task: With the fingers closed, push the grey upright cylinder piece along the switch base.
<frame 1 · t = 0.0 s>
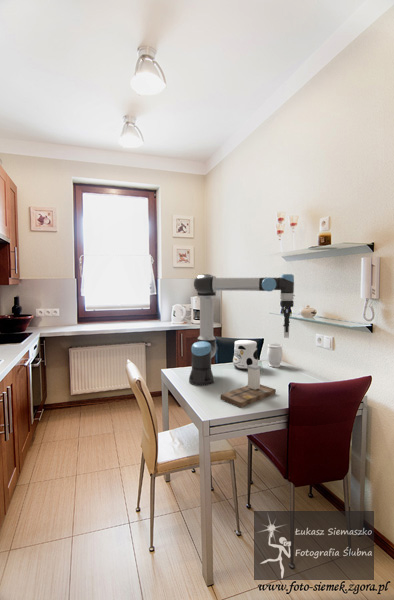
hand: (286, 335, 190), 28 cm above the table, tool pointing down, fingers open, 13 cm apart
jar: (274, 366, 226), on the table
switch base: (248, 396, 168), on the table
grey upright cylinder piece: (253, 376, 172), point 9 cm above the table, slide at 0.0 cm
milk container: (245, 367, 222), on the table
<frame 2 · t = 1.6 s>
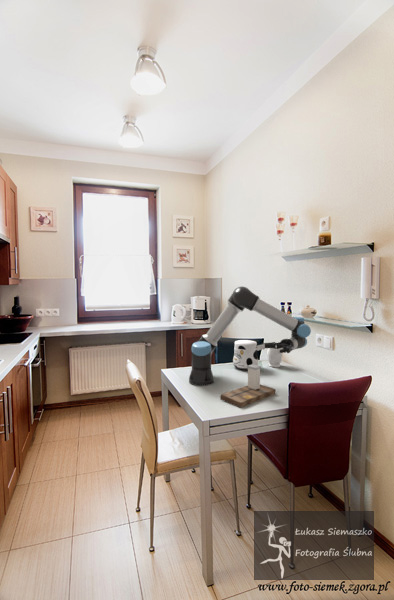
hand: (266, 350, 178), 22 cm above the table, tool horizontal, fingers open, 12 cm apart
nothing on the table moved.
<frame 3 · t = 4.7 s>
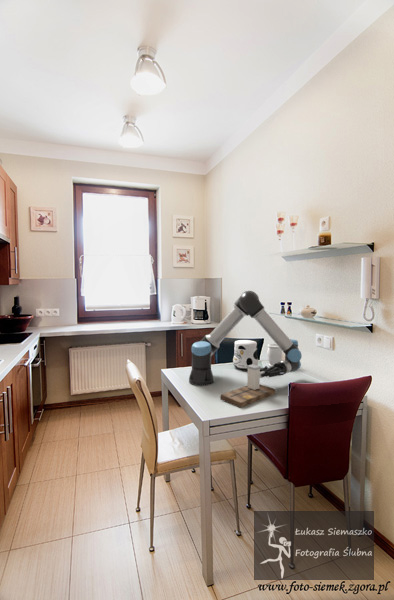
hand: (256, 376, 174), 9 cm above the table, tool horizontal, fingers closed
grey upright cylinder piece: (253, 376, 172), point 9 cm above the table, slide at 0.3 cm, touching gripper
everything else where it was.
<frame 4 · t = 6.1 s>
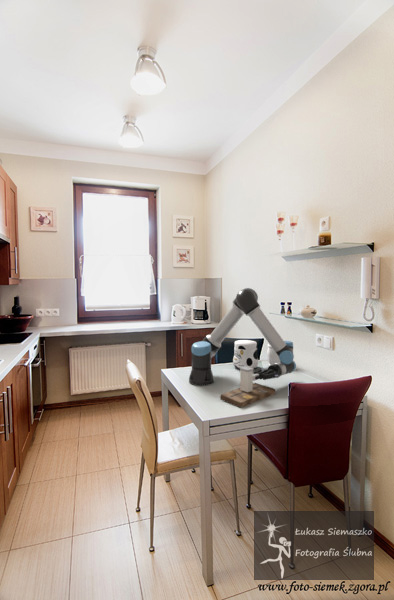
hand: (250, 378, 170), 9 cm above the table, tool horizontal, fingers closed
grey upright cylinder piece: (246, 379, 168), point 9 cm above the table, slide at 6.1 cm, touching gripper
everything else where it was.
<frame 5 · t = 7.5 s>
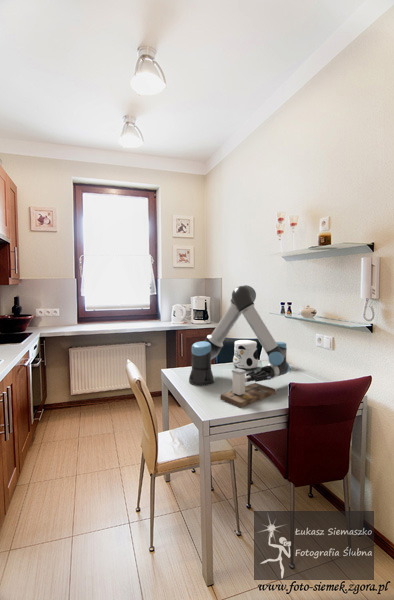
hand: (241, 380, 166), 9 cm above the table, tool horizontal, fingers closed
grey upright cylinder piece: (238, 381, 165), point 9 cm above the table, slide at 12.2 cm, touching gripper
everything else where it was.
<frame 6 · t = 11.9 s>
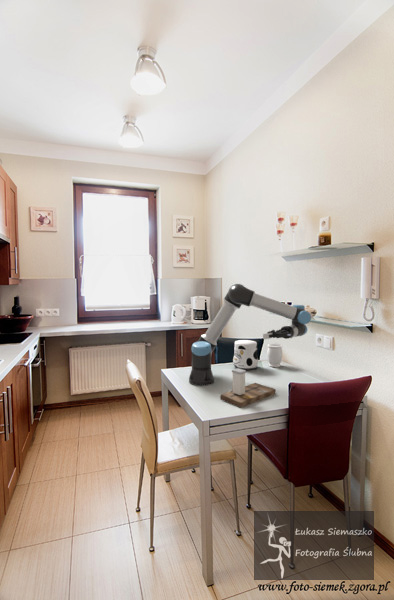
hand: (264, 336, 176), 30 cm above the table, tool horizontal, fingers closed
grey upright cylinder piece: (238, 381, 165), point 9 cm above the table, slide at 12.0 cm
everything else where it was.
at the end: grey upright cylinder piece slide at 12.0 cm; jar moved 0.2 cm from its start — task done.
